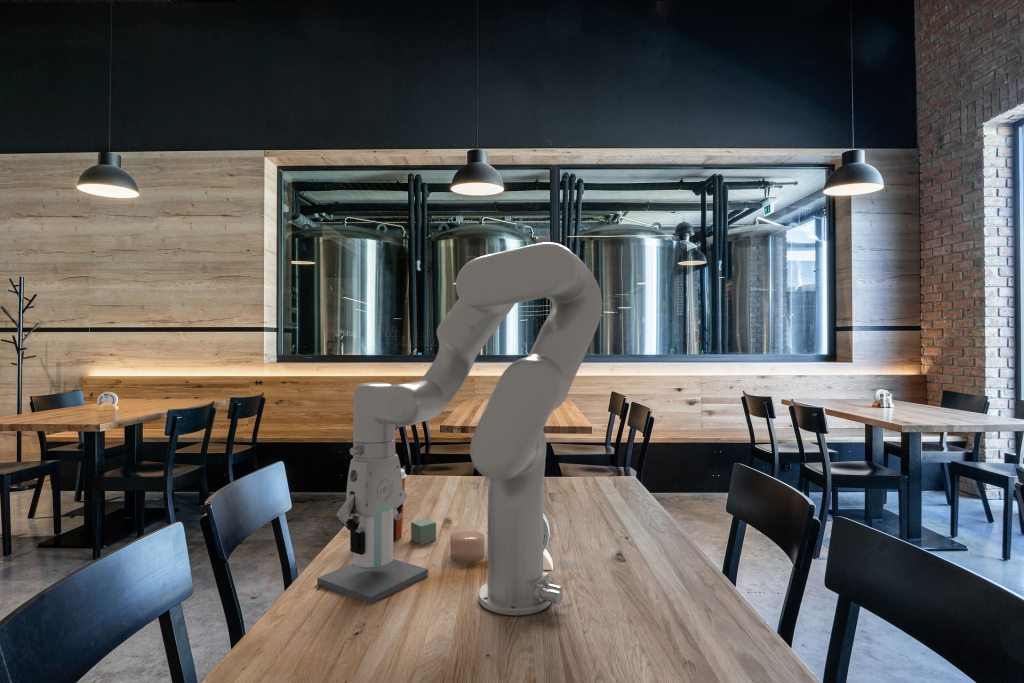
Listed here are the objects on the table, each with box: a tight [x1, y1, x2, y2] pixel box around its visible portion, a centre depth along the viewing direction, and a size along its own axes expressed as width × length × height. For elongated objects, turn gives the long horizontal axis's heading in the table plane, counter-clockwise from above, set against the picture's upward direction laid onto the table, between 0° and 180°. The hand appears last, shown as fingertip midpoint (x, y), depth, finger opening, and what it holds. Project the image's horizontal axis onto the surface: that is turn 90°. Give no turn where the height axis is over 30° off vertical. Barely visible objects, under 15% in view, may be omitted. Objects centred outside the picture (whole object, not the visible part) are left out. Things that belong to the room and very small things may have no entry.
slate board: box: [316, 558, 429, 605], centre depth 102 cm, size 14×14×1 cm
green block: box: [410, 517, 437, 545], centre depth 123 cm, size 4×4×4 cm
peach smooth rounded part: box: [449, 530, 486, 563], centre depth 114 cm, size 7×7×4 cm
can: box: [353, 501, 394, 569], centre depth 102 cm, size 7×7×12 cm
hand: (373, 545), depth 102 cm, fingers closed on can, 6 cm apart
